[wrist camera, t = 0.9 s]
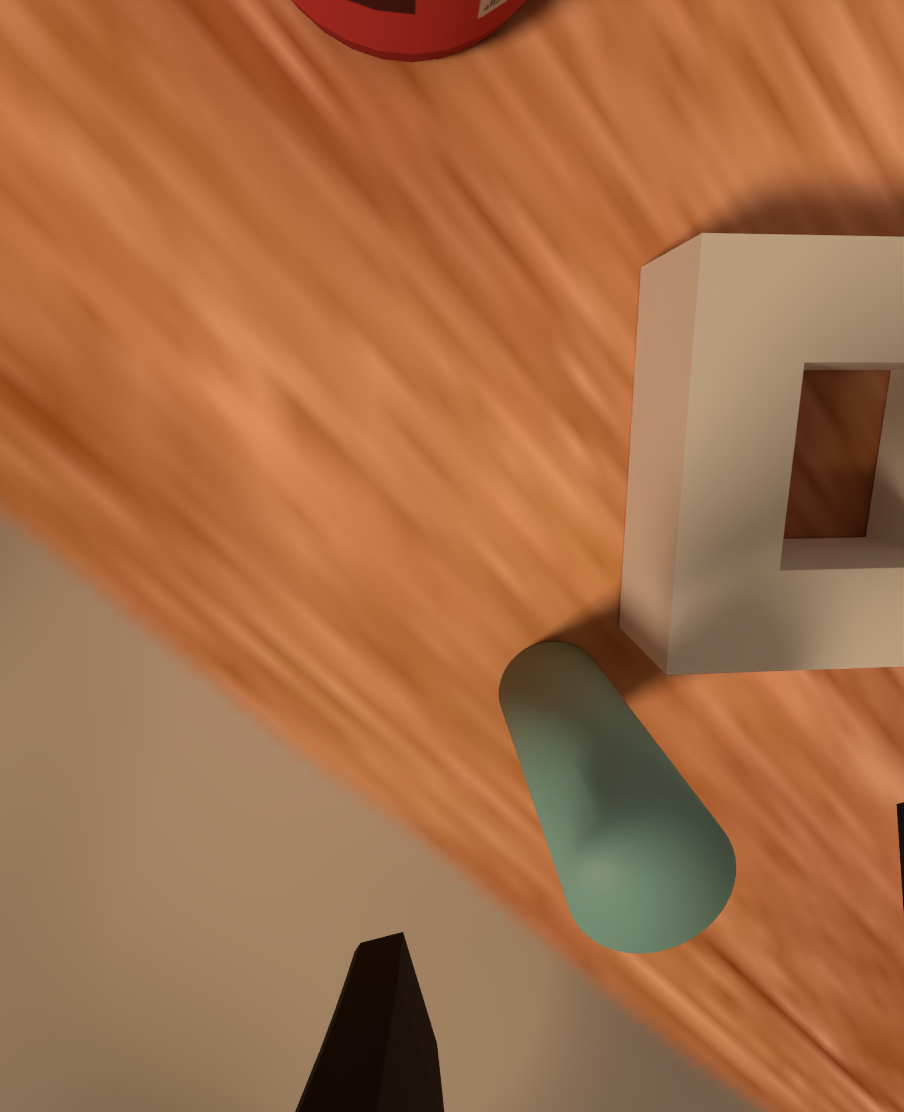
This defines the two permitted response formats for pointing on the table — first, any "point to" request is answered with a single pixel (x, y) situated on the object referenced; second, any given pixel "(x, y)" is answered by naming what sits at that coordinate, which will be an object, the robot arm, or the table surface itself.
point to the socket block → (758, 456)
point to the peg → (612, 806)
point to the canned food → (409, 24)
